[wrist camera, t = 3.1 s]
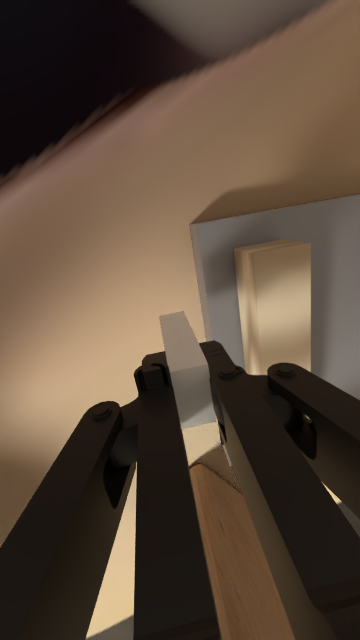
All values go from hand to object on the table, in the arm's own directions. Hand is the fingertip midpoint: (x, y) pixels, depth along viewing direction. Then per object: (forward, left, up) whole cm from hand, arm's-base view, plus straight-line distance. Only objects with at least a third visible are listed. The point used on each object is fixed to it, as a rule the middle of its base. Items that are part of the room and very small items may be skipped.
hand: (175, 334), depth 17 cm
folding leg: (+7, -4, -4) cm, 9 cm away
